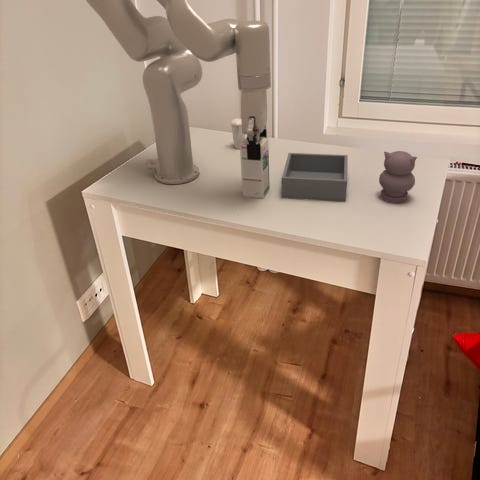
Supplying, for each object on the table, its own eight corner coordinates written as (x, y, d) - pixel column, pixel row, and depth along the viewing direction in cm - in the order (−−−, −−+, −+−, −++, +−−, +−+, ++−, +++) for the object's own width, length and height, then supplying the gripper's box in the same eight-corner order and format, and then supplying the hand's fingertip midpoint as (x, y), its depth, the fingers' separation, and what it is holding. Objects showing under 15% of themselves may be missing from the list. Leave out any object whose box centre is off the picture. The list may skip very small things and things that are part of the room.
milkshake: (243, 151, 146) (242, 120, 141) (229, 148, 149) (227, 117, 143) (251, 146, 149) (250, 115, 144) (237, 143, 152) (235, 113, 146)
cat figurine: (414, 193, 119) (422, 148, 113) (409, 207, 113) (417, 161, 107) (380, 187, 123) (386, 143, 116) (373, 200, 117) (379, 155, 110)
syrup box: (263, 199, 120) (262, 145, 112) (241, 196, 121) (239, 143, 113) (269, 189, 124) (269, 136, 116) (248, 186, 126) (246, 134, 118)
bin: (281, 197, 120) (281, 177, 117) (288, 171, 133) (288, 152, 130) (345, 201, 117) (347, 181, 114) (345, 173, 130) (347, 155, 127)
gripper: (245, 72, 115) (248, 139, 124) (230, 91, 101) (235, 165, 110) (275, 71, 113) (277, 139, 122) (264, 91, 99) (267, 166, 108)
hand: (257, 151), depth 116 cm, fingers open, 9 cm apart
